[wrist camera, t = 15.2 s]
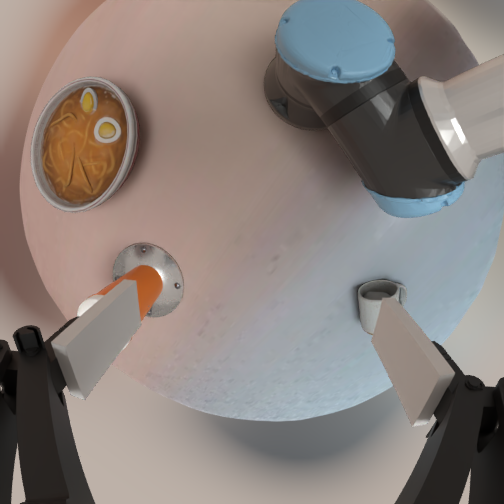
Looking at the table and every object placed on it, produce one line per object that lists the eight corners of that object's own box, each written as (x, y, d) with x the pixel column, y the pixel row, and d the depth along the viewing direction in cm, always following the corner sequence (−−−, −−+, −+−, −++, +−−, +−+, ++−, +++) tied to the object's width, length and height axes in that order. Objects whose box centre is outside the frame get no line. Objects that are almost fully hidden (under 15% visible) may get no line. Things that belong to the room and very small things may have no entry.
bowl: (150, 72, 42) (125, 55, 32) (167, 190, 48) (143, 196, 38) (57, 112, 44) (26, 108, 34) (71, 215, 50) (40, 225, 40)
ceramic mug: (356, 322, 52) (368, 343, 45) (352, 285, 50) (365, 303, 43) (404, 308, 51) (420, 326, 44) (402, 271, 49) (421, 286, 42)
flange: (111, 241, 51) (109, 242, 50) (182, 245, 50) (181, 246, 49) (119, 310, 55) (117, 312, 54) (185, 319, 54) (184, 321, 53)
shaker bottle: (118, 272, 52) (57, 320, 33) (150, 251, 50) (91, 297, 31) (142, 309, 54) (94, 369, 34) (176, 292, 52) (132, 354, 33)
